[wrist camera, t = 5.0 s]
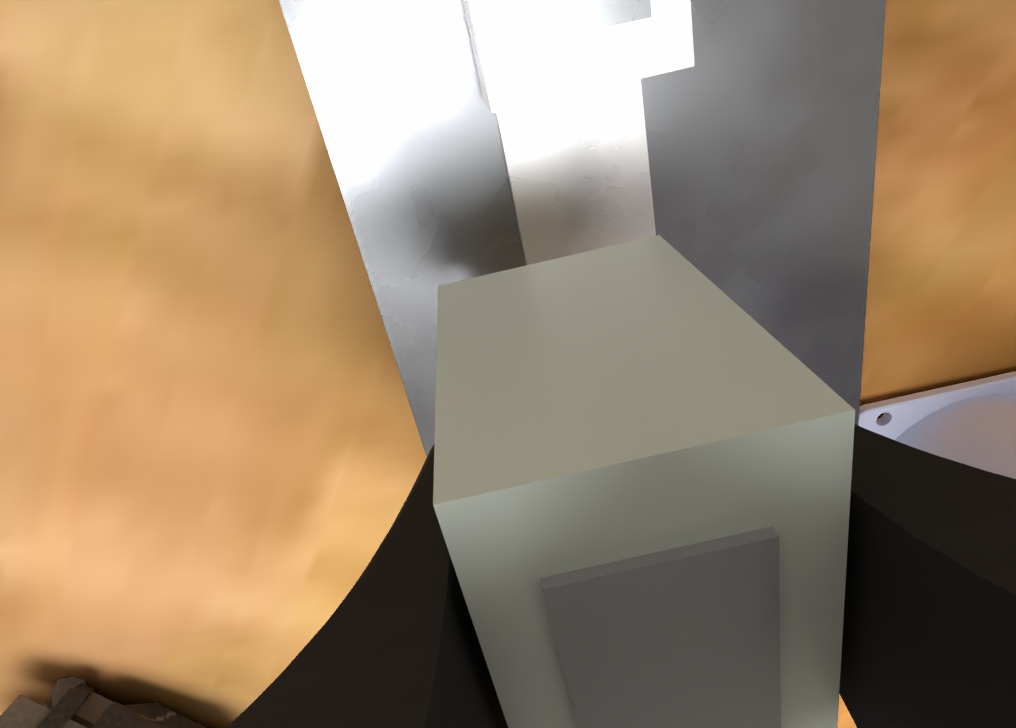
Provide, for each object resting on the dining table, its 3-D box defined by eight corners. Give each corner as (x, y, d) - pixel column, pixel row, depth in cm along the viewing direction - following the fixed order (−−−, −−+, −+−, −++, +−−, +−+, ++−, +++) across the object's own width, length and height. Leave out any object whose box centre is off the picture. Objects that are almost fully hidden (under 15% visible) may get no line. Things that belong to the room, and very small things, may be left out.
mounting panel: (880, -283, 14) (1069, -424, 9) (843, 439, 22) (933, 529, 18) (243, -132, 14) (158, -207, 10) (454, 525, 22) (456, 633, 18)
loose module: (659, 234, 11) (865, 418, 6) (684, 496, 14) (839, 789, 8) (437, 286, 11) (432, 515, 6) (507, 536, 14) (548, 852, 9)
